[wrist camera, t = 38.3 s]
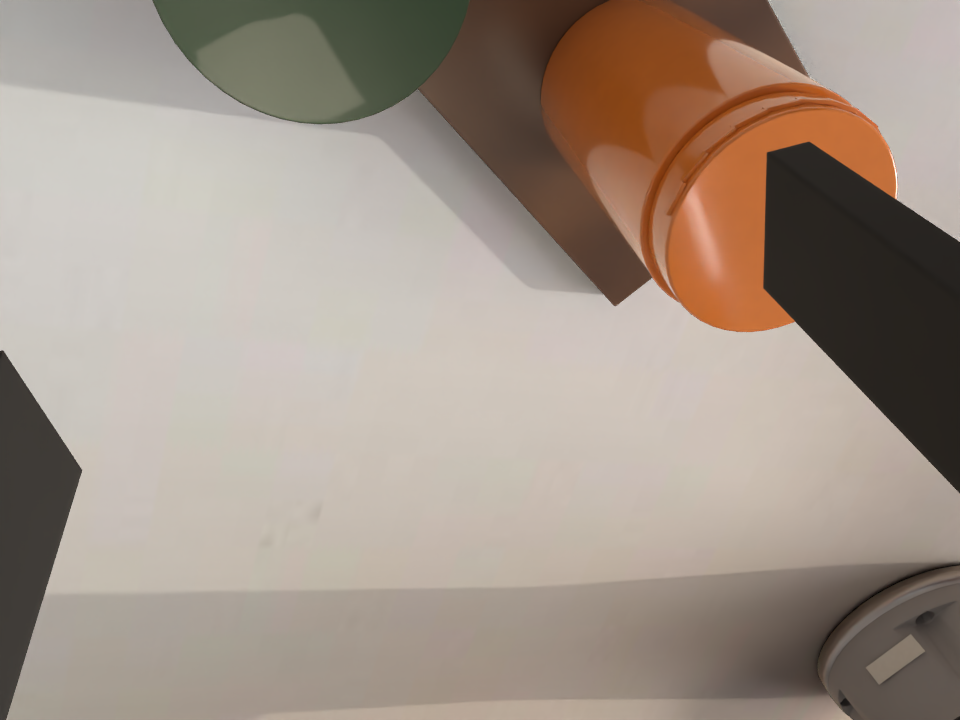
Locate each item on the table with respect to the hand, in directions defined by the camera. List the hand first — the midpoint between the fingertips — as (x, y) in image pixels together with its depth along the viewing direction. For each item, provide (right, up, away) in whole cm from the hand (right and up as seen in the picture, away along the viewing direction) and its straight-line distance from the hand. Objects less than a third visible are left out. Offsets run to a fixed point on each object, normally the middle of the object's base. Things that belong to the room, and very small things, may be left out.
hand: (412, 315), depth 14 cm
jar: (+7, +10, +18) cm, 21 cm away
